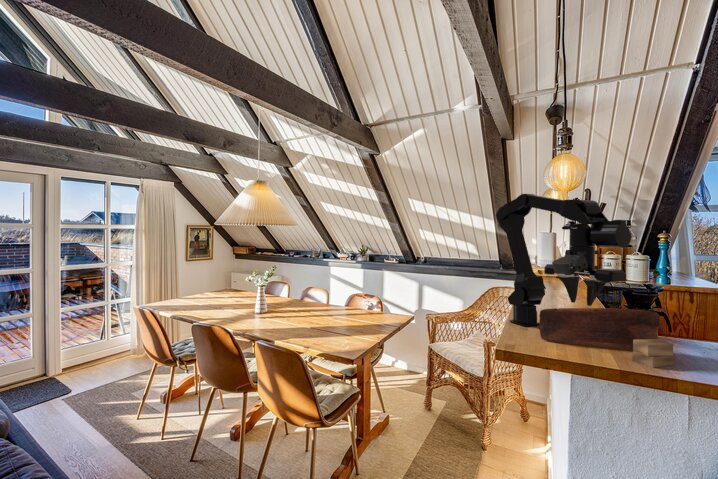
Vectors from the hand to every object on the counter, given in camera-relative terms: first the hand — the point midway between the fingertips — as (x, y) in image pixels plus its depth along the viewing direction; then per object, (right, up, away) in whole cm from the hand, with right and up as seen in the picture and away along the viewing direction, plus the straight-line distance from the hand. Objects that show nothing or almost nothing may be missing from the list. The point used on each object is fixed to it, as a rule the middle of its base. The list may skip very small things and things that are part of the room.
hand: (581, 304), depth 89 cm
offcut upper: (+6, -8, -15) cm, 18 cm away
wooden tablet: (+1, -10, -4) cm, 11 cm away
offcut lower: (+6, -10, -15) cm, 19 cm away
